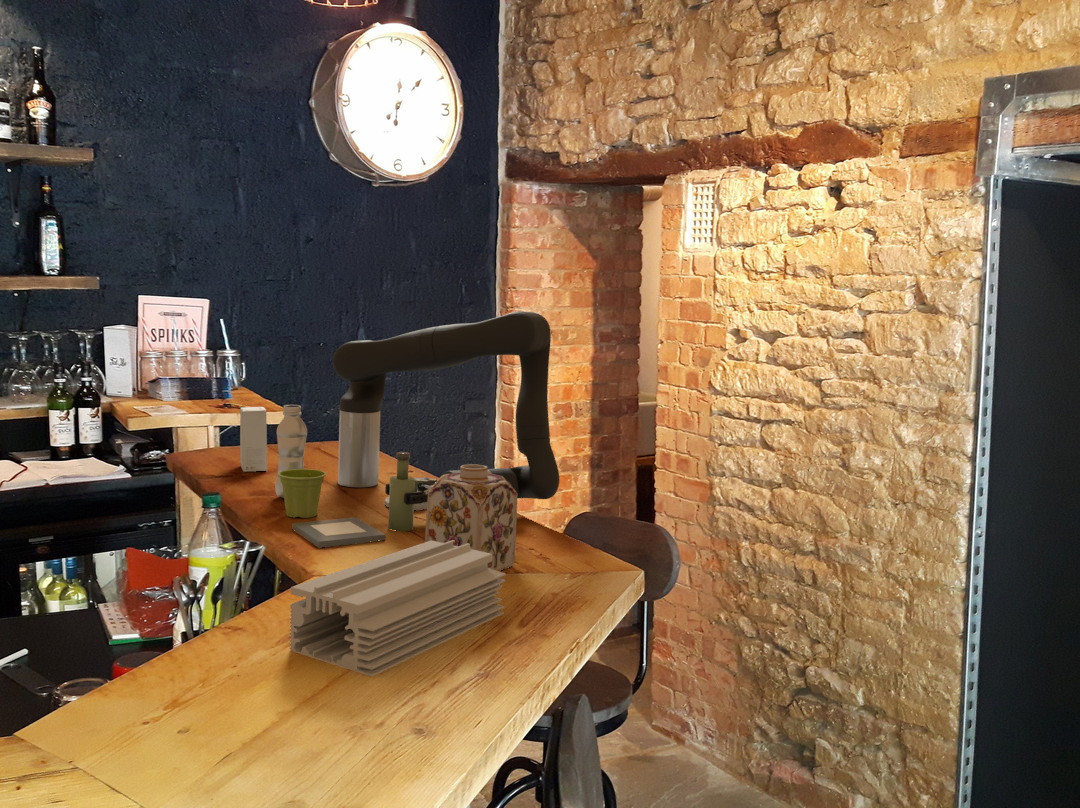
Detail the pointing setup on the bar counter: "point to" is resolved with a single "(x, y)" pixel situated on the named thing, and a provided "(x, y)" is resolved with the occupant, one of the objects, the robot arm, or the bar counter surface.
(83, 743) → the bar counter surface
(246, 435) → the skincare box
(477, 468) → the decorative jar
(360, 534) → the board
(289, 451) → the plastic bottle
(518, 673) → the bar counter surface
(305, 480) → the plant pot
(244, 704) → the bar counter surface
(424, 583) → the aluminum extrusion profile
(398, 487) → the bitters bottle
